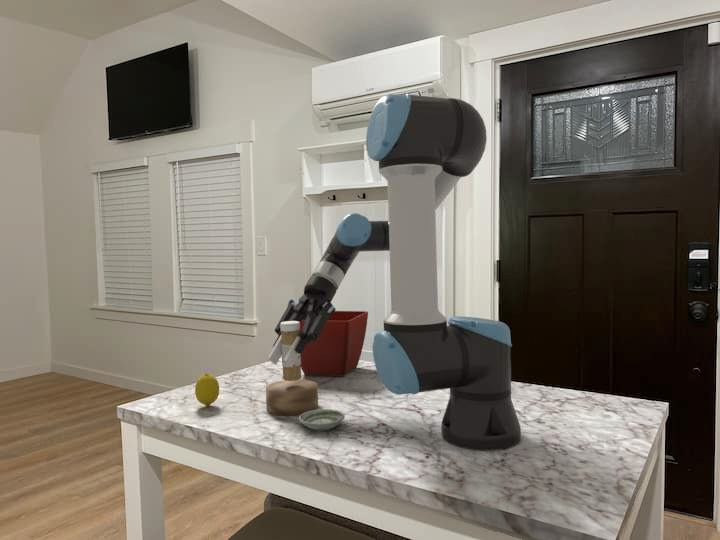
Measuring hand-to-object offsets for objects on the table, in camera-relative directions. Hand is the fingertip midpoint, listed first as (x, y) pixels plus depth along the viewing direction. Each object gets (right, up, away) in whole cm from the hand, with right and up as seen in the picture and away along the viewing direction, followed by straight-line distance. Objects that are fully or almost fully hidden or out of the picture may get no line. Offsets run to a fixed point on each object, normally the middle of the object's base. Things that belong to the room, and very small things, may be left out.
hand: (279, 362), depth 121 cm
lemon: (-18, -12, +6) cm, 22 cm away
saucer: (+10, -12, -9) cm, 18 cm away
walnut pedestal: (+2, -11, +4) cm, 12 cm away
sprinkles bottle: (+2, -5, +3) cm, 6 cm away
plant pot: (+9, -9, +38) cm, 40 cm away
